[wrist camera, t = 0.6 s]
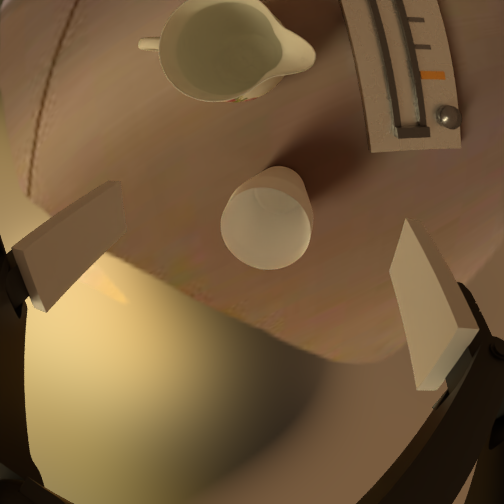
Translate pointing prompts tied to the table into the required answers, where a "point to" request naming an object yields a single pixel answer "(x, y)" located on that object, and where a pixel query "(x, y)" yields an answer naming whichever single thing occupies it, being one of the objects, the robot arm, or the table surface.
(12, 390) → the robot arm
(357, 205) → the table surface
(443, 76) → the console
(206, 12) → the pitcher
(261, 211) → the cup
